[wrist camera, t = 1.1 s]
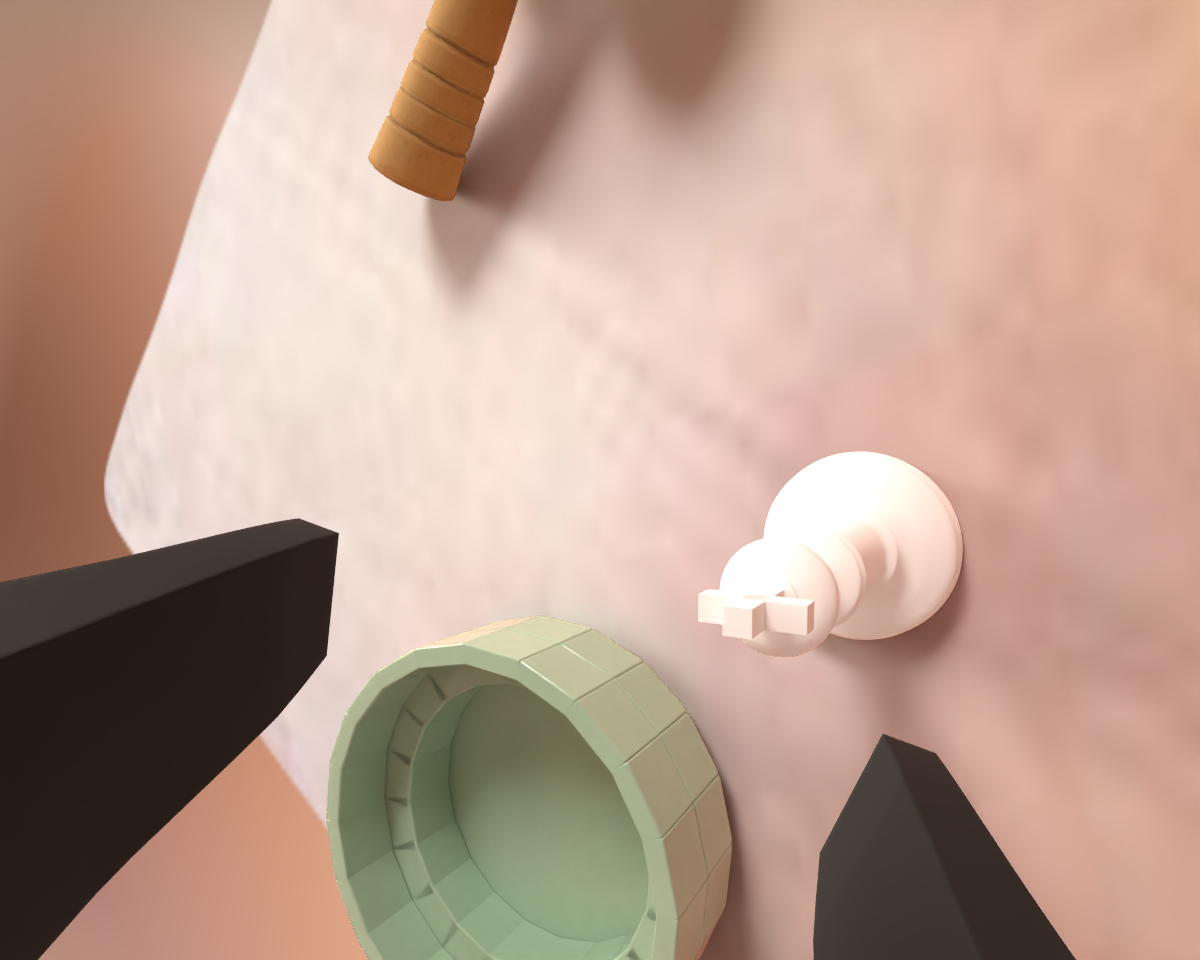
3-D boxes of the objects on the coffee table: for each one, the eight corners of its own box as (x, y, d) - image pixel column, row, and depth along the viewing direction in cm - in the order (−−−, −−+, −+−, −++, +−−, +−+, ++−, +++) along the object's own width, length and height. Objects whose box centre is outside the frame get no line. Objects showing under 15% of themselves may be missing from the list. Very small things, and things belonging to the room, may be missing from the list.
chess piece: (960, 649, 18) (920, 836, 9) (766, 625, 20) (587, 754, 12) (965, 452, 18) (930, 451, 9) (768, 451, 20) (589, 449, 11)
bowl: (825, 851, 20) (781, 950, 16) (574, 1050, 24) (491, 1167, 20) (548, 538, 24) (458, 555, 20) (377, 756, 28) (276, 806, 24)
